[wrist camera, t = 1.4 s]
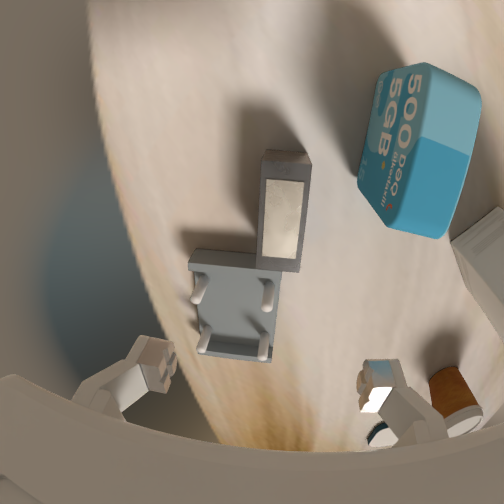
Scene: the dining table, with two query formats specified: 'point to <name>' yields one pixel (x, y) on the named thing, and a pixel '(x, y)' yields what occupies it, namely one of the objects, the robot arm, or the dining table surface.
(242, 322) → the tray
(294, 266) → the block
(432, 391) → the disposable coffee cup
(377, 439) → the white teal rounded slab
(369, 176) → the data package
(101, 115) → the dining table surface
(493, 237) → the supplement box
